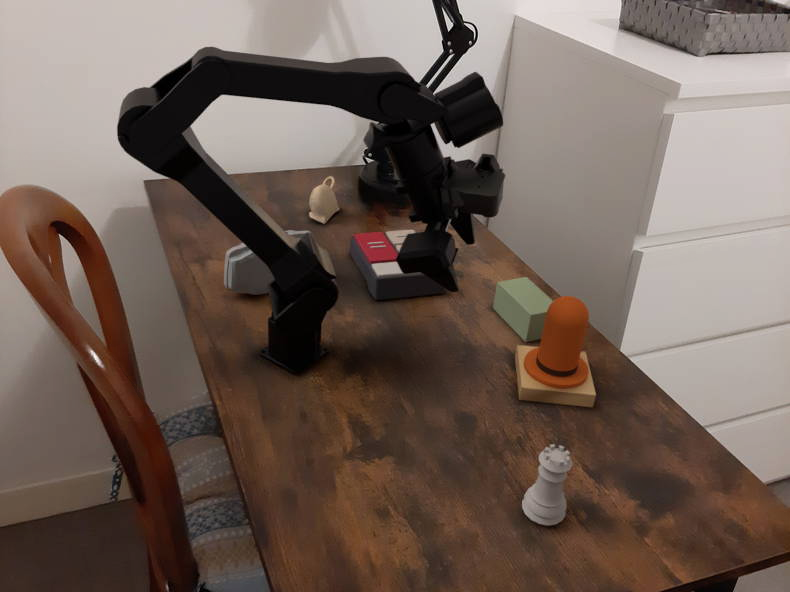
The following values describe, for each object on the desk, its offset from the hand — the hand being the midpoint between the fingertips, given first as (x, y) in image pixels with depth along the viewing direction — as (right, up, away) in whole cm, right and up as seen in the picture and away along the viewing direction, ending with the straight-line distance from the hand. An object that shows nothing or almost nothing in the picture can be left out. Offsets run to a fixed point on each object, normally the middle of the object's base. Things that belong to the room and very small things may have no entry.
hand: (463, 266), depth 96 cm
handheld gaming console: (-26, -3, +15) cm, 30 cm away
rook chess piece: (+6, -26, -19) cm, 33 cm away
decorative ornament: (-21, +13, +36) cm, 43 cm away
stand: (+11, -15, 0) cm, 18 cm away
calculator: (-9, 0, +21) cm, 23 cm away
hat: (+11, -13, -1) cm, 17 cm away
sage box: (+10, -7, +11) cm, 17 cm away
